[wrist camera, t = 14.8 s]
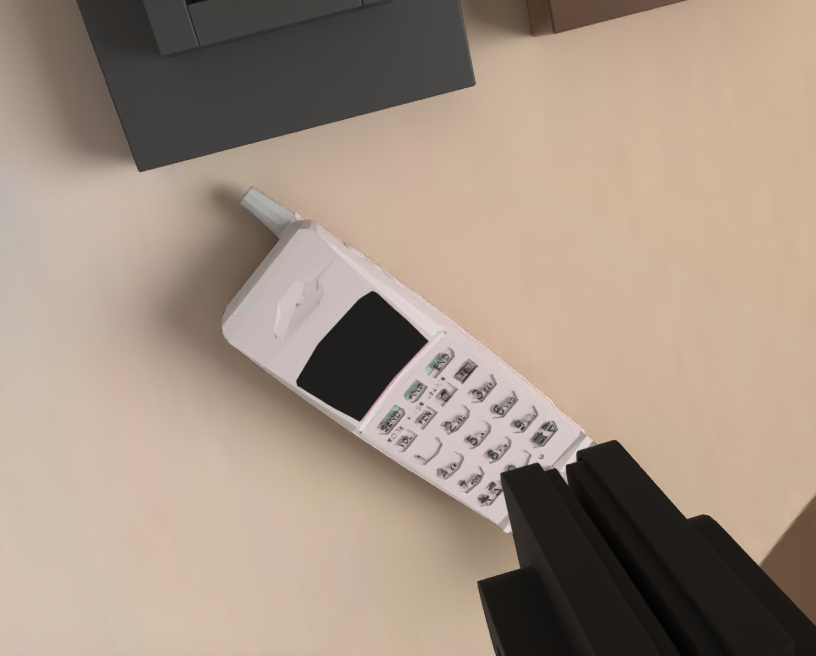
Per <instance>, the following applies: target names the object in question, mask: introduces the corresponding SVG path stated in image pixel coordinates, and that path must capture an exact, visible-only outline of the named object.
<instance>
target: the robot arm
mask: <svg viewBox="0 0 816 656" xmlns="http://www.w3.org/2000/svg"><path fill="white" fill-rule="evenodd" d="M566 476H567V481H568V485H567V483H566V482H565V480H564V479H563V477H562V476H561V474H560V473H559V471H558V470H557V469H556V468H553V469H550V470H546V471H544V469H543V468H542V466H541V465H540V464H539V463H538V462H536V463H533V464H529V465H526V466H522V467H519V468H515V469H512V470H508V471H505V472H502V473H500V479H501V484H502V489H503V494H504V498H505V502H506V507H507V511H508V516H509V520H510V525H511V529H512V533H513V538H514V542H515V547H516V551H517V556H518V560H519V564H520V569H517V570H514V571H510V572H507V573H504V574H500V575H497V576H494V577H490V578H487V579H483V580H480V581H478V582H477V584H478V589H479V593H480V598H481V602H482V606H483V610H484V614H485V618H486V622H487V625H488V629H489V633H490V637H491V640H492V644H493V647H494V651H495V654H496V656H816V626H815V625H814V624H813V623H812V622H811V621H810V620H809V619H808V617H807V616H806V615H805V614H804V613H803V612H802V611H801V610H800V609H799V608H798V607H797V606H796V605H795V604H794V603H793V602H792V601H791V600H790V598H789V597H788V596H787V595H786V594H785V593H784V592H783V591H782V590H781V589H780V588H779V587H778V586H777V585H776V584H775V583H774V582H773V581H772V580H771V579H770V578H769V577H768V575H767V574H766V573H765V572H764V571H763V570H762V569H761V568H760V567H759V566H758V565H757V564H756V563H755V562H754V561H753V559H752V558H751V557H750V556H749V555H748V554H747V553H746V552H745V551H744V550H743V549H742V548H741V547H740V546H739V545H738V544H737V543H736V542H735V540H734V539H733V538H732V537H731V536H730V535H729V534H728V533H727V532H726V531H725V530H724V529H723V528H722V527H721V526H720V525H719V524H718V523H717V522H716V521H715V520H714V519H713V518H711V517H710V516H708V515H704V514H703V515H699V516H696V517H692V518H689V519H686V518H685V516H684V515H683V514H682V513H681V512H680V511H679V510H678V509H677V507H676V506H675V505H674V504H673V503H672V502H671V501H670V499H669V498H668V497H667V496H666V495H665V494H664V493H663V492H662V490H661V489H660V488H659V487H658V486H657V485H656V484H655V483H654V481H653V480H652V479H651V478H650V477H649V476H648V475H647V473H646V472H645V471H644V470H643V469H642V468H641V467H640V466H639V464H638V463H637V462H636V461H635V460H634V459H633V458H632V457H631V455H630V454H629V453H628V452H627V451H626V450H625V449H624V448H623V446H622V445H621V444H620V443H619V442H618V441H616V440H612V441H609V442H605V443H602V444H598V445H595V446H592V447H588V448H585V449H581V450H578V451H577V453H576V462H574V463H570V464H567V465H566Z"/></svg>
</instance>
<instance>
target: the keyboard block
mask: <svg viewBox="0 0 816 656" xmlns="http://www.w3.org/2000/svg"><path fill="white" fill-rule="evenodd" d="M76 1H77V4H78V7H79V9H80V12H81V15H82V18H83V20H84V23H85V26H86V29H87V31H88V34H89V37H90V40H91V42H92V45H93V48H94V51H95V53H96V56H97V59H98V62H99V64H100V67H101V70H102V73H103V75H104V78H105V81H106V84H107V86H108V89H109V92H110V95H111V97H112V100H113V103H114V106H115V108H116V111H117V114H118V117H119V119H120V122H121V125H122V128H123V130H124V133H125V136H126V139H127V141H128V144H129V147H130V150H131V152H132V155H133V158H134V161H135V163H136V166H137V169H138V171H139V172H143V171H147V170H151V169H154V168H158V167H162V166H166V165H170V164H174V163H178V162H182V161H185V160H189V159H193V158H197V157H201V156H205V155H209V154H212V153H216V152H220V151H224V150H228V149H232V148H236V147H240V146H243V145H247V144H251V143H255V142H259V141H263V140H267V139H270V138H274V137H278V136H282V135H286V134H290V133H294V132H298V131H301V130H305V129H309V128H313V127H317V126H321V125H325V124H328V123H332V122H336V121H340V120H344V119H348V118H352V117H356V116H359V115H363V114H367V113H371V112H375V111H379V110H383V109H386V108H390V107H394V106H398V105H402V104H406V103H410V102H414V101H417V100H421V99H425V98H429V97H433V96H437V95H441V94H444V93H448V92H452V91H456V90H460V89H464V88H468V87H472V86H474V85H475V84H476V82H475V77H474V72H473V67H472V61H471V56H470V51H469V46H468V41H467V36H466V31H465V25H464V20H463V15H462V10H461V5H460V0H76Z"/></svg>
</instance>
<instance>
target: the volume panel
mask: <svg viewBox="0 0 816 656" xmlns="http://www.w3.org/2000/svg"><path fill="white" fill-rule="evenodd" d="M682 1H686V0H527V4H528V10H529V16H530V22H531V28H532V34H533V36H535V37H536V36H543V35H551V34H557V33H561V32H565V31H569V30H573V29H576V28H580V27H584V26H588V25H592V24H596V23H600V22H604V21H608V20H612V19H615V18H619V17H623V16H627V15H631V14H635V13H639V12H643V11H647V10H651V9H654V8H658V7H662V6H666V5H670V4H674V3H678V2H682Z"/></svg>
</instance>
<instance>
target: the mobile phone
mask: <svg viewBox="0 0 816 656" xmlns="http://www.w3.org/2000/svg"><path fill="white" fill-rule="evenodd" d="M240 203H241V204H242V205H243V206H244V207H245V208H246V209H248V210H249V211H250V212H251V213H252V214H253V215H254V216H255V217H257V218H258V219H259V220H260V221H261V222H262V223H263V224H264V225H266V226H267V227H268V228H269V229H270V230H271V231H272V232H273V233H274V234H275V235H276V236H277V237H278V238H279V239H280V240H279V241H278V242H277V243H276V245H275V246H274V247H273V248H272V250H271V251H270V252H269V254H268V255H267V256H266V257H265V259H264V260H263V261H262V262H261V264H260V265H259V266H258V268H257V269H256V270H255V271H254V273H253V274H252V275H251V276H250V278H249V279H248V280H247V282H246V283H245V284H244V285H243V287H242V288H241V289H240V290H239V292H238V293H237V294H236V296H235V297H234V298H233V299H232V301H231V302H230V303H229V304H228V306H227V307H226V309H225V311H224V315H223V317H222V331H223V335H224V337H225V338H226V340H227V341H228V342H229V343H230V344H231V345H232V346H233V347H235V348H236V349H237V350H239V351H240V352H241V353H243V354H244V355H245V356H246V357H248V358H249V359H250V360H252V361H253V362H254V363H255V364H257V365H258V366H260V367H261V368H262V369H264V370H265V371H266V372H268V373H269V374H270V375H272V376H273V377H274V378H276V379H277V380H278V381H280V382H281V383H282V384H284V385H285V386H287V387H288V388H289V389H291V390H292V391H293V392H295V393H296V394H297V395H299V396H300V397H301V398H303V399H304V400H306V401H307V402H308V403H310V404H311V405H313V406H314V407H316V408H317V409H318V410H320V411H321V412H323V413H324V414H326V415H327V416H328V417H330V418H331V419H333V420H334V421H336V422H337V423H338V424H340V425H341V426H343V427H344V428H346V429H347V430H348V431H350V432H351V433H354V434H355V435H356V436H358V437H359V438H361V439H362V440H364V441H365V442H367V443H368V444H370V445H371V446H373V447H374V448H376V449H377V450H379V451H380V452H382V453H383V454H385V455H386V456H388V457H389V458H391V459H392V460H394V461H395V462H397V463H398V464H400V465H401V466H403V467H405V468H406V469H408V470H409V471H411V472H413V473H414V474H416V475H417V476H419V477H421V478H422V479H424V480H425V481H427V482H429V483H430V484H432V485H433V486H435V487H437V488H438V489H440V490H442V491H443V492H445V493H446V494H448V495H450V496H451V497H453V498H454V499H456V500H458V501H459V502H461V503H462V504H464V505H466V506H467V507H469V508H470V509H472V510H474V511H475V512H477V513H478V514H480V515H482V516H483V517H485V518H486V519H488V520H490V521H491V522H493V523H494V524H498V526H499V527H500V528H501V530H502V531H504V532H506V533H509V532H511V533H512V529H511V525H510V520H509V516H508V511H507V507H506V502H505V498H504V494H503V489H502V484H501V479H500V473H502V472H505V471H508V470H512V469H515V468H519V467H522V466H526V465H529V464H533V463H536V462H538V463H539V464H540V465H541V466H542V468H543V469H544V471H546V470H550V469H553V468H556V469H557V470H558V471H559V473H560V474H561V476H562V477H563V479H564V480H565V482H566V483H567V485H568V481H567V476H566V465H567V464H570V463H574V462H576V453H577V451H578V450H581V449H585V448H588V447H592V446H595V445H597V444H596V443H595V442H593V440H592V439H591V438H589V437H588V436H587V435H586V434H585V431H584V430H583V429H582V428H581V427H580V426H579V425H578V424H576V423H575V422H574V421H573V420H572V419H570V418H569V417H568V416H567V415H565V414H564V413H563V412H562V411H561V410H559V409H558V408H557V407H556V406H554V404H553V402H552V401H551V400H550V399H549V398H548V397H547V396H545V395H544V394H543V393H542V392H541V391H539V390H538V389H537V388H536V387H535V386H533V385H532V384H531V383H530V382H529V381H527V380H526V379H525V378H524V377H523V376H521V375H520V374H519V373H518V372H517V371H515V370H514V369H513V368H512V367H511V366H510V365H508V364H507V363H506V362H505V361H503V360H502V359H501V358H499V357H498V356H497V355H496V354H494V353H493V352H492V351H491V350H489V349H488V348H487V347H486V346H484V345H483V344H482V343H481V342H479V341H478V340H477V339H475V338H474V337H473V336H472V335H470V334H469V333H468V332H467V331H465V330H464V329H463V328H462V327H460V326H459V325H458V324H456V323H455V322H454V321H453V320H451V319H450V318H449V317H448V316H446V315H445V314H444V313H443V312H441V311H440V310H439V309H437V308H436V307H435V306H433V305H432V304H430V303H429V302H428V301H426V300H425V299H423V298H422V297H421V296H419V295H418V294H417V293H415V292H414V291H412V290H411V289H410V288H408V287H407V286H406V285H404V284H403V283H401V282H400V281H399V280H397V279H396V278H395V277H393V276H392V275H390V274H389V273H388V272H386V271H385V270H384V269H382V268H381V267H379V266H378V265H377V264H375V263H374V262H373V261H371V260H370V259H369V258H367V257H366V256H365V255H363V254H362V253H361V252H359V251H358V250H357V249H355V248H354V247H352V246H351V245H349V244H347V243H345V242H342V241H341V240H340V239H338V238H337V237H335V236H334V235H333V234H331V233H330V232H329V231H327V230H326V229H325V228H323V227H322V226H321V225H319V224H318V223H316V222H314V221H311V220H305V219H304V218H302V217H301V216H300V215H298V214H297V213H294V212H292V211H290V210H289V209H287V208H285V207H284V206H282V205H281V204H279V203H277V202H276V201H274V200H273V199H271V198H270V197H268V196H267V195H265V194H263V193H262V192H260V191H259V190H257V189H256V188H254V187H253V186H251V188H250V189H249V190H248V191H247V193H246V194H245V195H244V197H243V198H242V199H241V201H240ZM512 534H513V533H512Z"/></svg>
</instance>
